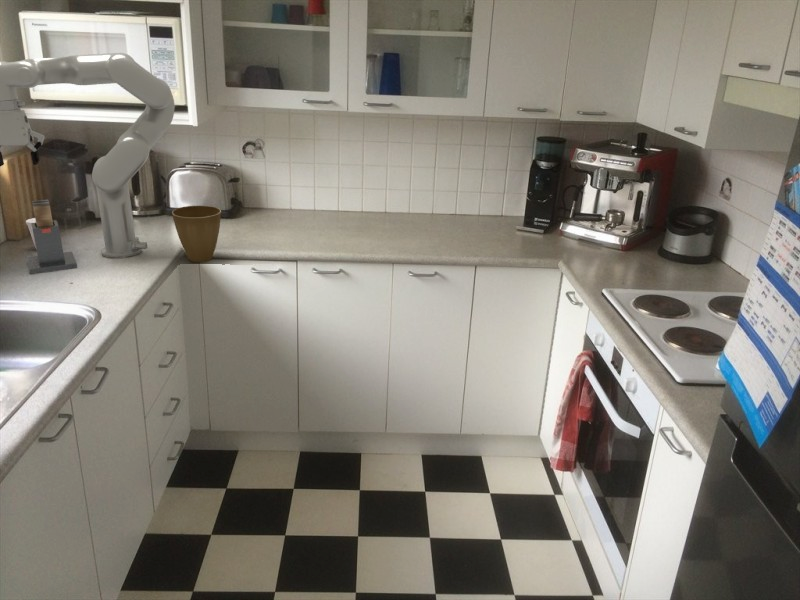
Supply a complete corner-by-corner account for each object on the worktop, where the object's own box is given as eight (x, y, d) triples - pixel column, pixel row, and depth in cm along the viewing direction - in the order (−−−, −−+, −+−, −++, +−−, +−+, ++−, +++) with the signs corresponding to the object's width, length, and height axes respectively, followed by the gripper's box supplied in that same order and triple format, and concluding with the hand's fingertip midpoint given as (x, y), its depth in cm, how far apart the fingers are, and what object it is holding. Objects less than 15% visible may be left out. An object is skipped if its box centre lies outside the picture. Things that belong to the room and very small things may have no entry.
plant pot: (171, 265, 207) (165, 216, 201) (185, 251, 220) (180, 204, 214) (218, 266, 207) (214, 217, 201) (229, 252, 221) (225, 205, 214)
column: (58, 256, 207) (48, 199, 200) (60, 260, 204) (49, 202, 197) (42, 258, 205) (31, 200, 198) (43, 262, 202) (32, 204, 195)
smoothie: (43, 251, 217) (35, 210, 211) (26, 250, 218) (18, 208, 212) (56, 246, 222) (49, 205, 217) (40, 244, 224) (32, 204, 218)
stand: (73, 255, 213) (66, 216, 208) (77, 267, 203) (70, 227, 198) (27, 261, 207) (19, 221, 202) (30, 274, 197) (21, 232, 192)
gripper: (41, 104, 197) (52, 161, 203) (-23, 105, 193) (-9, 163, 200) (33, 106, 190) (46, 166, 196) (-33, 108, 186) (-18, 168, 193)
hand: (18, 164), depth 198 cm, fingers open, 9 cm apart
